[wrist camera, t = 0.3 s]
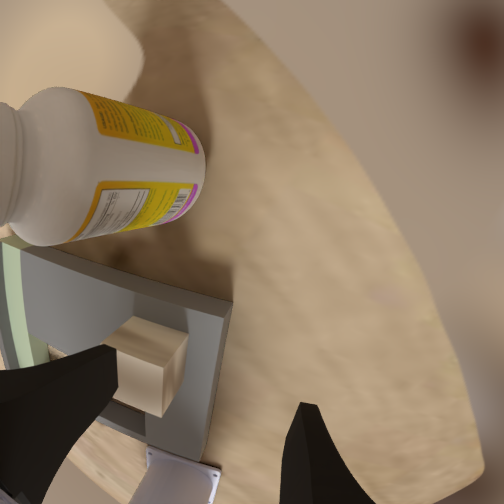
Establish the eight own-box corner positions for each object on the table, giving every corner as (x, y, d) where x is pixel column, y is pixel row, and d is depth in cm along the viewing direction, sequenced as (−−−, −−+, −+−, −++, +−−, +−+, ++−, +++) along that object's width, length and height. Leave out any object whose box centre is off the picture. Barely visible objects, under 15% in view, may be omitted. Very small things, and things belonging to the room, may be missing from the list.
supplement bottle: (131, 123, 19) (-40, 94, 7) (216, 119, 17) (21, 43, 5) (122, 217, 20) (-51, 246, 8) (204, 231, 18) (-1, 285, 6)
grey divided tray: (206, 443, 24) (194, 474, 20) (29, 361, 26) (8, 377, 22) (233, 302, 20) (217, 329, 16) (15, 234, 23) (-15, 243, 19)
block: (183, 381, 19) (161, 417, 16) (132, 363, 20) (104, 393, 16) (188, 333, 18) (163, 367, 15) (133, 315, 19) (100, 343, 15)
